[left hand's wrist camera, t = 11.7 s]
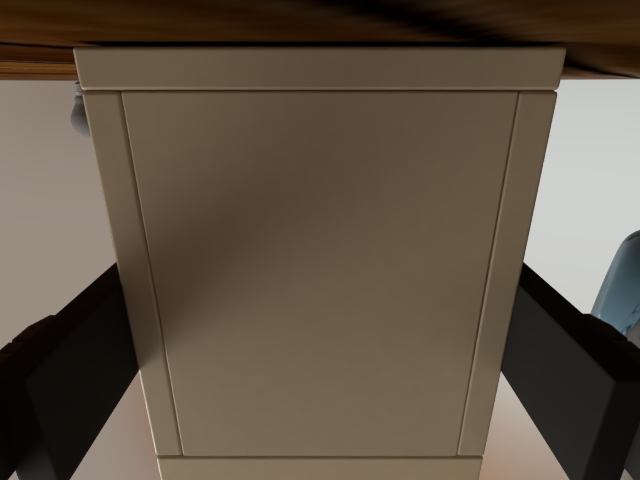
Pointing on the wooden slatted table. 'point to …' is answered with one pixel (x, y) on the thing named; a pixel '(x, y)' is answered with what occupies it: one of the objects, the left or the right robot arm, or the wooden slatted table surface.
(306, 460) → the lid
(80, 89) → the light bulb
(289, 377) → the chest
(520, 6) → the wooden slatted table surface
